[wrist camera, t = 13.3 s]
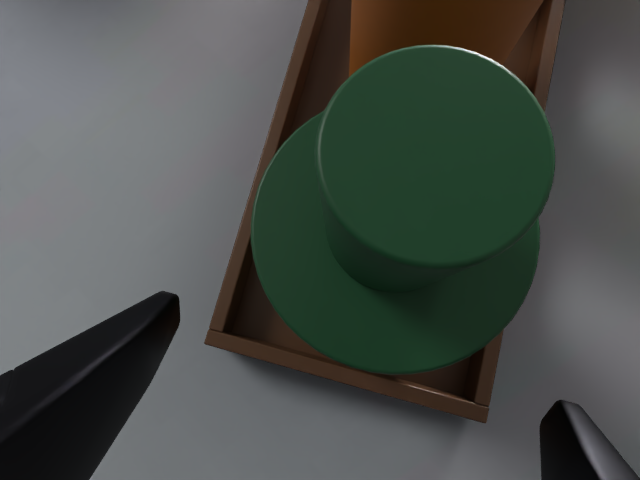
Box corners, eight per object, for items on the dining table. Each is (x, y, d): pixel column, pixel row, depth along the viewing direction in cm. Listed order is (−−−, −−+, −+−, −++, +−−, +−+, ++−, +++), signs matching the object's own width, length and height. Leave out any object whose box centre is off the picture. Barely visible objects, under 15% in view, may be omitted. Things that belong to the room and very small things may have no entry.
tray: (470, 412, 18) (486, 424, 16) (217, 341, 19) (203, 343, 17) (576, -133, 23) (599, -176, 21) (369, -167, 24) (371, -211, 22)
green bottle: (402, 370, 18) (606, 532, 4) (274, 309, 19) (87, 277, 5) (456, 241, 19) (770, 25, 5) (331, 187, 20) (309, -128, 6)
